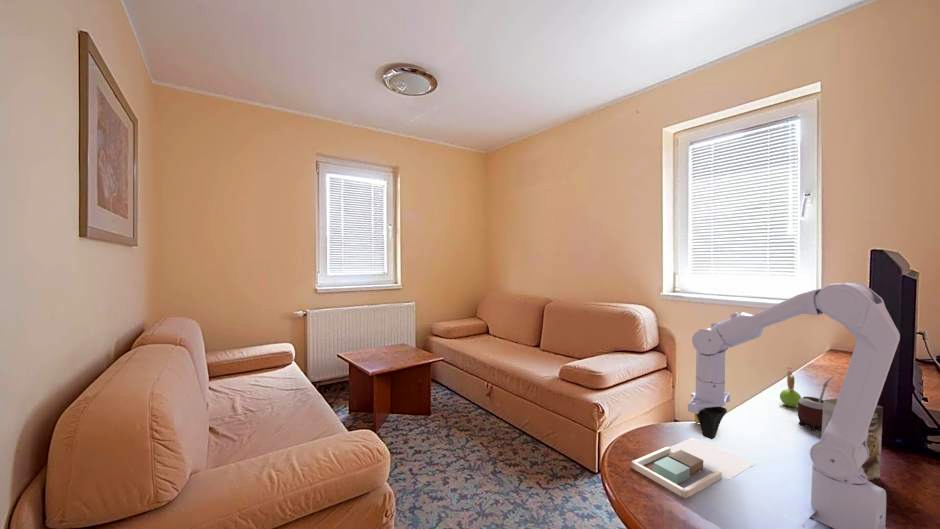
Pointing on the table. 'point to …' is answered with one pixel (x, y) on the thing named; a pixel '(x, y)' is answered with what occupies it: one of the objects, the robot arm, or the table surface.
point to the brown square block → (688, 461)
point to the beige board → (713, 457)
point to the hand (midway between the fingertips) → (708, 437)
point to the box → (667, 483)
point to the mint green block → (671, 470)
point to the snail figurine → (790, 392)
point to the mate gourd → (812, 410)
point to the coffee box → (873, 439)
